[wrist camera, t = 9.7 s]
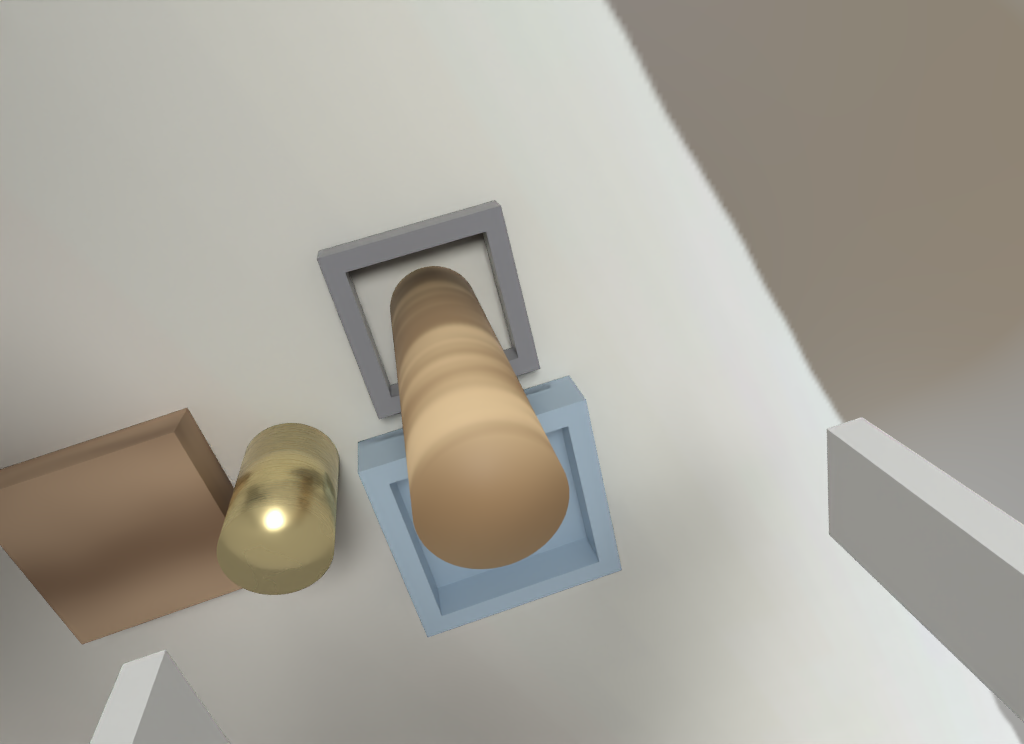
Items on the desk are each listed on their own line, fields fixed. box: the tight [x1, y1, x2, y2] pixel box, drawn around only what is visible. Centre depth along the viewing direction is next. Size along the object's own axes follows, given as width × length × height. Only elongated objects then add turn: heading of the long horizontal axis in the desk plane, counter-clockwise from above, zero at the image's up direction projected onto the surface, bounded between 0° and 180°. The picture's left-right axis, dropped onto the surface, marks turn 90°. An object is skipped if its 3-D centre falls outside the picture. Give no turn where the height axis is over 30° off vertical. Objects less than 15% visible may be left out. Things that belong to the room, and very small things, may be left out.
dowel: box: [390, 266, 569, 569], centre depth 21 cm, size 4×4×14 cm
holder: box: [317, 200, 540, 419], centre depth 26 cm, size 7×7×1 cm
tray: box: [358, 376, 622, 637], centre depth 30 cm, size 10×10×2 cm
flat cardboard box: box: [0, 408, 242, 644], centre depth 27 cm, size 8×8×2 cm
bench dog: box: [217, 423, 339, 595], centre depth 26 cm, size 4×4×6 cm
